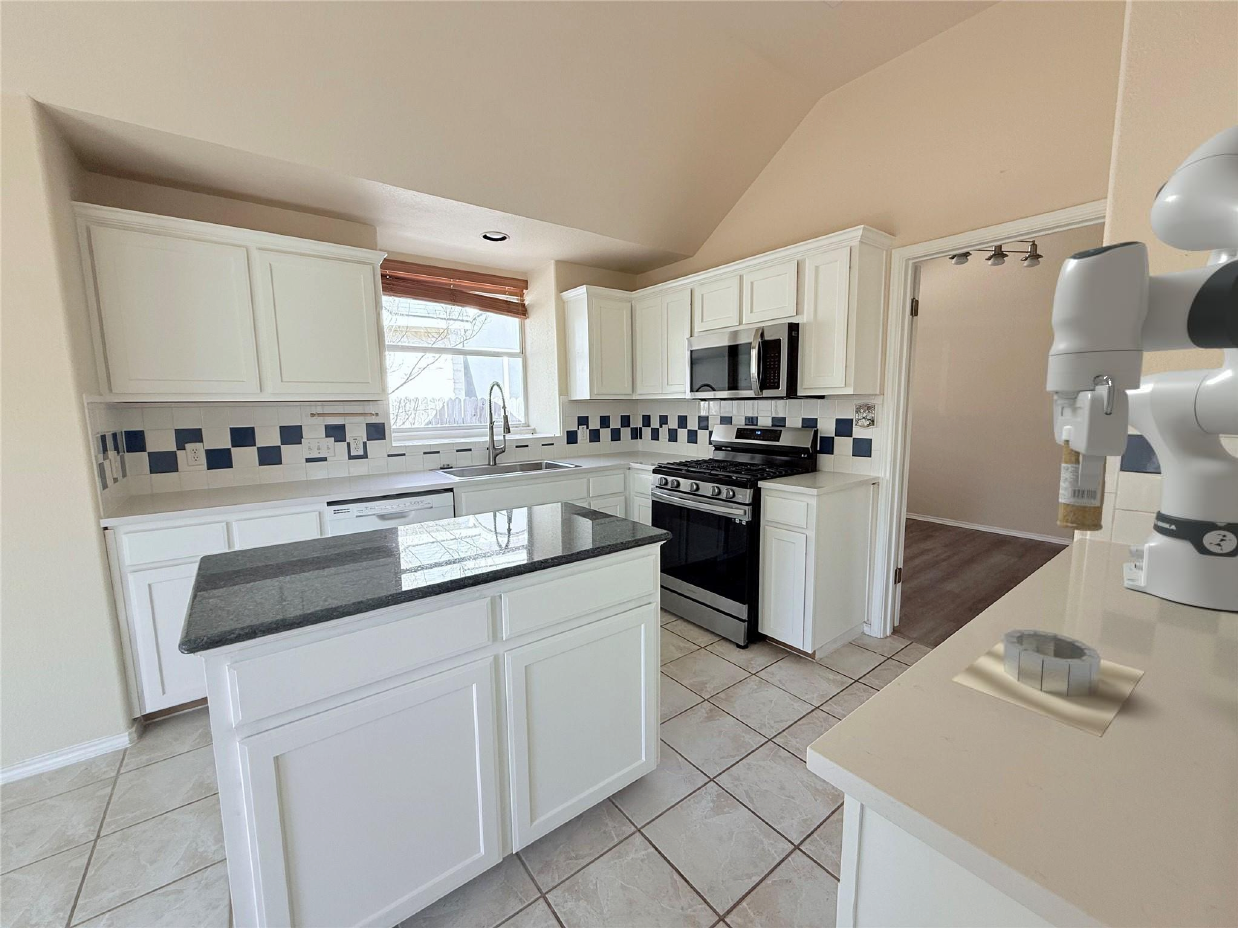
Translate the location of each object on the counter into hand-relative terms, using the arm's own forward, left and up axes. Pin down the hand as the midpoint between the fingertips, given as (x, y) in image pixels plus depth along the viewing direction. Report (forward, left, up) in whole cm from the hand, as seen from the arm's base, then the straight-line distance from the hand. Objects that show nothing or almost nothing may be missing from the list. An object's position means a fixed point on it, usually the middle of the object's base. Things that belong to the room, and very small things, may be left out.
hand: (1082, 484), depth 67 cm
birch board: (+8, -3, -24) cm, 26 cm away
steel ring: (+8, -3, -23) cm, 25 cm away
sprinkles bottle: (0, 0, -6) cm, 6 cm away
